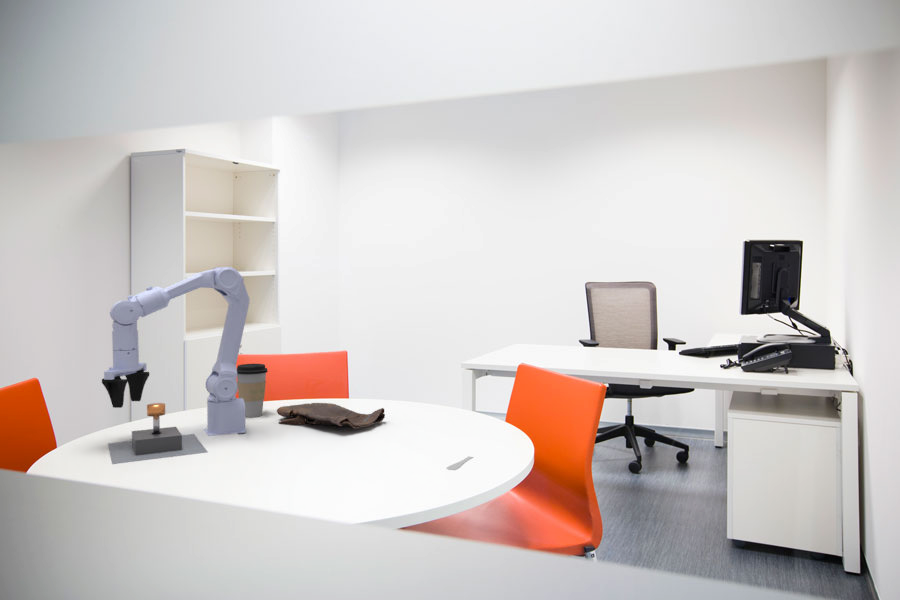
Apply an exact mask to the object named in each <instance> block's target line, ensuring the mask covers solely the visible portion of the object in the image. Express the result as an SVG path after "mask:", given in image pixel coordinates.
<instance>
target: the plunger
mask: <svg viewBox="0 0 900 600" xmlns="http://www.w3.org/2000/svg"><path fill="white" fill-rule="evenodd" d="M146 415H147V416H146V417H152V427H153V428H152V429H153V434H160V428H161V425H160V422H161V421H160V420H161V419H160V417H161V416H165V415H166V403H164V402H154V403H149V404H146Z"/></svg>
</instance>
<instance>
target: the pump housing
mask: <svg viewBox="0 0 900 600" xmlns="http://www.w3.org/2000/svg"><path fill="white" fill-rule="evenodd" d="M182 435H183V434H182V433H181V432H180V430H179V429H178V428H177V426H169V427H160V434H153V428H149V429H141V430H131V441H132V447H133V450H134V453H135V455H143V454H152V453H160V452H168V451H177V450H182Z"/></svg>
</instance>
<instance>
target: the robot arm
mask: <svg viewBox="0 0 900 600" xmlns="http://www.w3.org/2000/svg"><path fill="white" fill-rule="evenodd" d="M244 280H245V279H244V277H243V275H241V273H240V272H239V271H238V270H237V269H236V268H234V267H231V266H223V267H222V266H217V267H214V268H212V269H207V270H202V271H200V272H196V273H195V274H192V275H191V276H189V277H186V278H184V279H182V280H180V281H178V282H176V283H173V284H172V285H169V286H167V287H165V288H164V287H160V286H157V285H156V286H154V287H153V286H151V285H150V286H147V287H146V288H145V289H146V290H144V291H142V292H139V293H137V294H135V295H127V297H126V298H127V300H125V299H124V300H119V301H116V302H115V303H114V304H113V305H112V307H111V309H110V312H109V315H110V318H111V319H112V325H111V326H112V331H111V336H112V337H111V338H112V340H111V341H112V366H109V367H108V370H105V371H104V372H103V375H104V376H103V377H104V378H102V379H101V384H102V385H103V386H104V388H105V390H106V391H107V394H108V395H109V399H110V401H111V406H112V408H113V409H114V408H116V409H117V408H118V409H119V408H123V407H124V403H125V402H124V400H125V399H124V398H125V391H126V386H127V384H128V388H129V397H130V400H131V402H141V400H142V396H143V391H144V388H145V384H146V382H147V380H148V378H149V377H150V371H147V363H146V362H139V361H140V359H139V357H140V354H139V349H140V348H139V330H138V320H139V319H140V317H141V318H144V317H147V316H149V315H151V314H153V313H156V312H158V311H160V310H162V309H165V308H167V307H168V306H169V303H170V301H171V300H173V299H175V298H178V297H180V296H182V295H185V294H188V293H191V292H193V291H195V290H198V289H202V288H204V289H205V288H206V289H213V290H215V291H216V292H218V293H219V294H221V296H222V297H223V299H225V301H226V302H227V303H228V306H227V311H226V316H225V319H224V320H225V321H224V325H223V330H222V333H221V339H220V343H219V348H218V352H217V358H216V360H215V361H216V362H215V363H214V365H213V367H212V369H211V372H210V374H209V376H208V377H207V378H206V380H205V389H206V391H207V393H209V395H208V396H207V399H206V400H207V401H206V404H207V407H206V410H207V414H206V416H207V417H206V419H207V428H204V429H203V431H204V432H205V433H206V434H207V435H208V436H209V437H212V436H221V435H228V434H245V433H247V429H246V417H245V402H244V399H243V398H239V397H237V396H236V395H237V393H238V384H237V381H238V380H237V361H238V357H239V353H240V348H241V344H242V339H243V334H244V329H245V325H246V320H247V315H248V311H249V305H250V297H249V293H248V291H247V289H246V288H247V287H246V285H245V281H244ZM121 377H125V378H126V379H125V378H123V379H122V378H121Z"/></svg>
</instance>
